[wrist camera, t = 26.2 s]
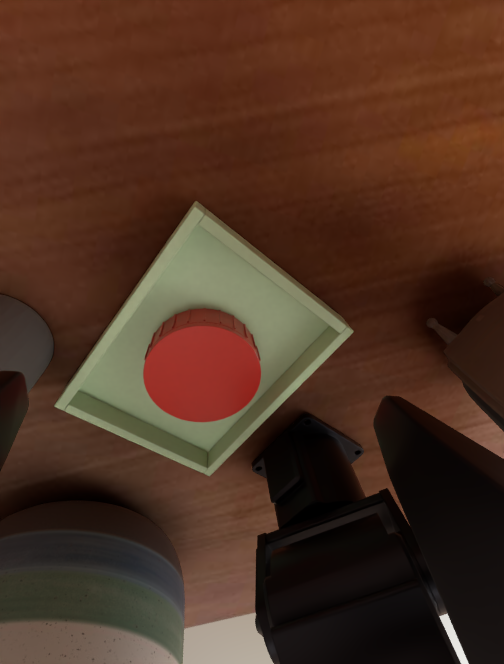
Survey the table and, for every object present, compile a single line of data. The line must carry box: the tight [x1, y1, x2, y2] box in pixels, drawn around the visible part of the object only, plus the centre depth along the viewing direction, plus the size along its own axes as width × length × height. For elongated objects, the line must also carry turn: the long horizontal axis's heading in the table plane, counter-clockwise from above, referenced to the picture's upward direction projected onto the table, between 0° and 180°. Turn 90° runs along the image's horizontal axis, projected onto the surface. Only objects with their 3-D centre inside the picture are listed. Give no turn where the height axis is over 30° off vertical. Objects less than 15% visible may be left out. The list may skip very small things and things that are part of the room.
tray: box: [54, 201, 354, 476], centre depth 21 cm, size 11×14×2 cm
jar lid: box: [143, 308, 261, 422], centre depth 20 cm, size 7×7×2 cm
